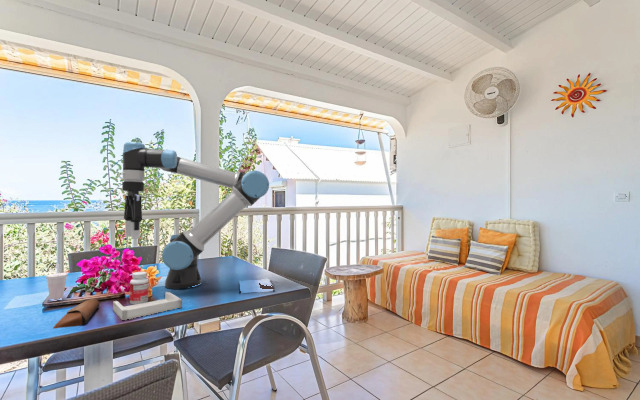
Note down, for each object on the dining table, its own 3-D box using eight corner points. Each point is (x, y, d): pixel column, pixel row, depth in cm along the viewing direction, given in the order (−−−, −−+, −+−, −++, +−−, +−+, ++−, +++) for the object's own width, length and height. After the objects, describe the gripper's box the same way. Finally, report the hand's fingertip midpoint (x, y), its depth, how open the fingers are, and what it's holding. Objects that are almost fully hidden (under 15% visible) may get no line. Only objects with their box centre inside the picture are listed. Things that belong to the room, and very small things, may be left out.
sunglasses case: (70, 309, 110) (82, 292, 111) (91, 317, 112) (102, 300, 114) (51, 329, 93) (66, 308, 95) (76, 338, 96) (90, 317, 97)
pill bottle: (132, 300, 121) (133, 271, 121) (150, 299, 123) (150, 270, 123) (127, 305, 115) (127, 275, 115) (145, 304, 117) (146, 274, 117)
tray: (168, 299, 123) (168, 291, 123) (181, 308, 114) (181, 299, 114) (113, 310, 110) (113, 301, 110) (122, 320, 101) (123, 311, 101)
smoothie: (54, 303, 116) (55, 265, 116) (40, 302, 117) (41, 264, 118) (71, 298, 122) (72, 262, 123) (58, 297, 124) (59, 261, 124)
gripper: (116, 181, 132) (114, 235, 132) (130, 179, 117) (128, 240, 117) (136, 182, 138) (135, 234, 137) (152, 181, 122) (151, 239, 122)
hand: (132, 237), depth 127 cm, fingers open, 9 cm apart
